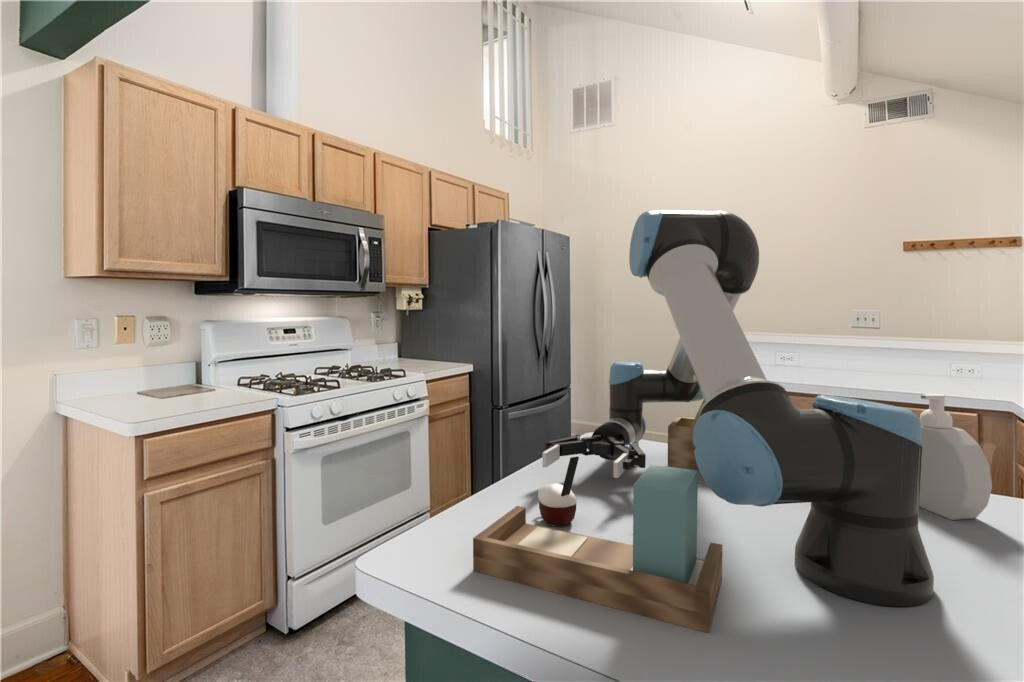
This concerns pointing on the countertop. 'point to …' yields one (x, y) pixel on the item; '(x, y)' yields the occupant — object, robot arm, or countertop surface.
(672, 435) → the part holder
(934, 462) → the soap bottle
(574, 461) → the cocoa
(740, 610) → the countertop surface
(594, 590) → the tray
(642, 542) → the teal carton
